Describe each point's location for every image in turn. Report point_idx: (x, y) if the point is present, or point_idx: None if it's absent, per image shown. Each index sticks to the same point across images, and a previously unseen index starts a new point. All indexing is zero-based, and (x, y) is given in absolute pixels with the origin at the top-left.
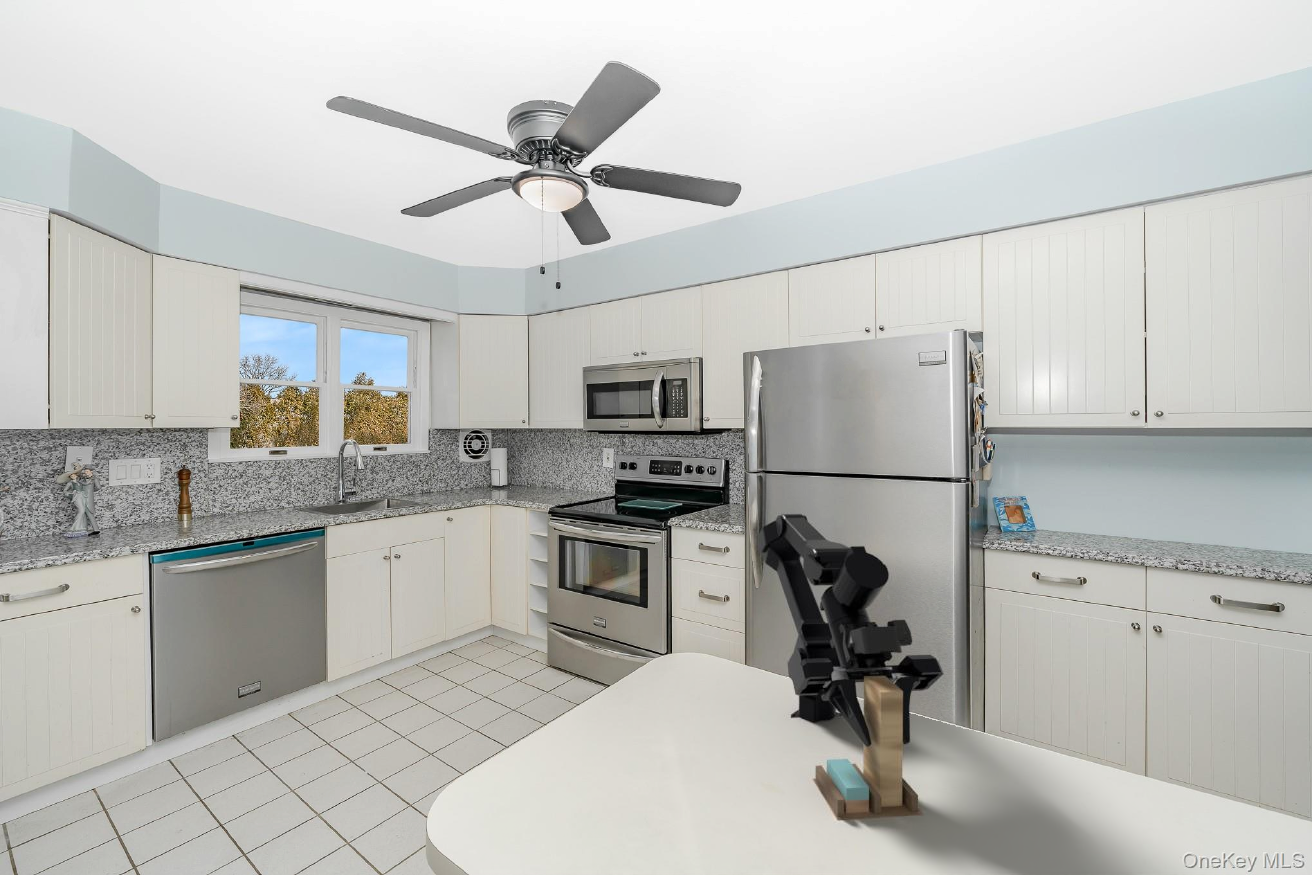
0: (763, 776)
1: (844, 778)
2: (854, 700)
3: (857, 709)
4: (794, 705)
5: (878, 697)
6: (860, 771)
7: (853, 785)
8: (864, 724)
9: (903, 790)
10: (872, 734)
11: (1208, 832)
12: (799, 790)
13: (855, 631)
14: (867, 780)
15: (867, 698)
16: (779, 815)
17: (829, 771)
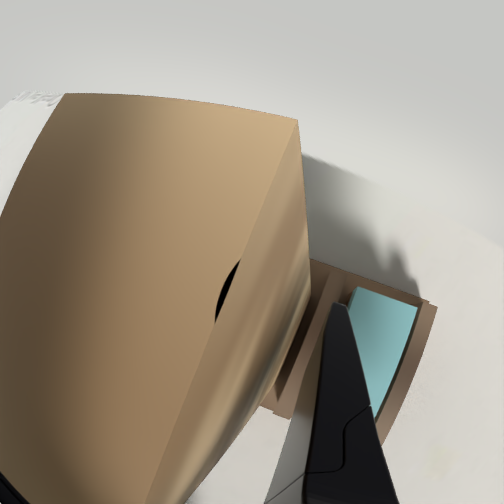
0: (424, 494)
1: (389, 347)
2: (339, 470)
3: (340, 421)
4: None
5: (284, 227)
6: (290, 380)
7: (391, 310)
8: (336, 350)
9: None
10: (281, 342)
11: (14, 125)
12: (399, 438)
13: None
14: (307, 340)
15: (217, 442)
16: (483, 381)
17: None
